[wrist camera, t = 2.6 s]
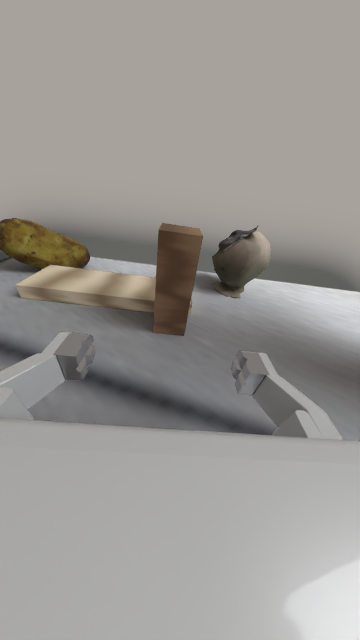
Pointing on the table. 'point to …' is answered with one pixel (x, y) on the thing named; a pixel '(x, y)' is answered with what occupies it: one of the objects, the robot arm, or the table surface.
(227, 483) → the robot arm
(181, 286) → the wooden block
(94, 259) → the table surface
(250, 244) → the round clay pot
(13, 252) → the potato
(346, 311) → the table surface
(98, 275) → the plank
